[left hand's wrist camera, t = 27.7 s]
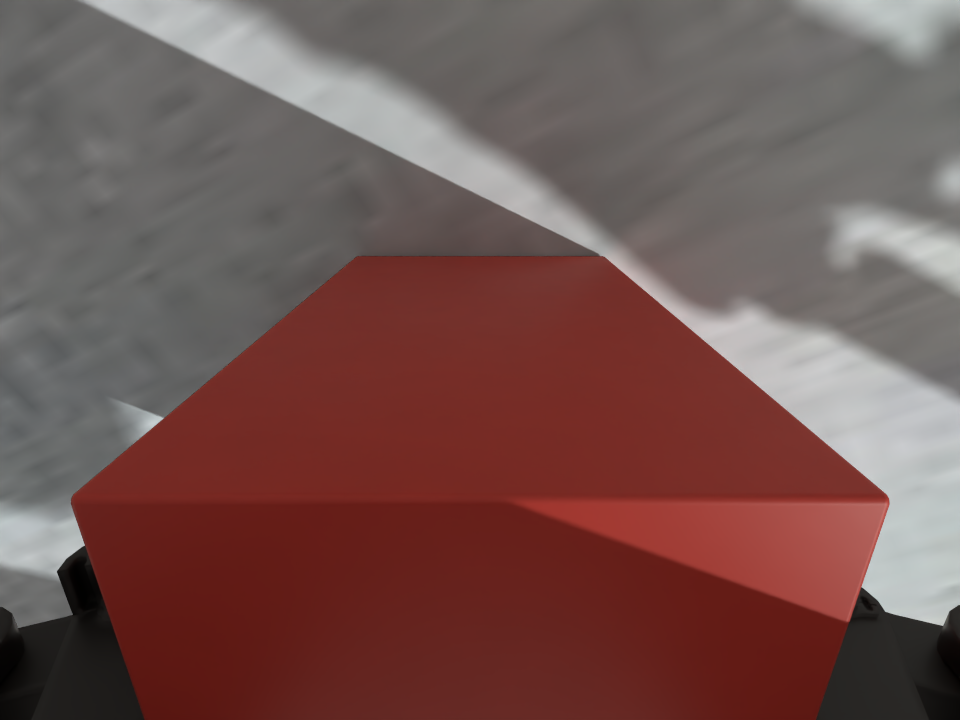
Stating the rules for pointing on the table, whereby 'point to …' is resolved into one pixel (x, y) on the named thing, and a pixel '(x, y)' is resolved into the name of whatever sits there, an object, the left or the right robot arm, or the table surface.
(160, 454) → the brick
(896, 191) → the table surface
